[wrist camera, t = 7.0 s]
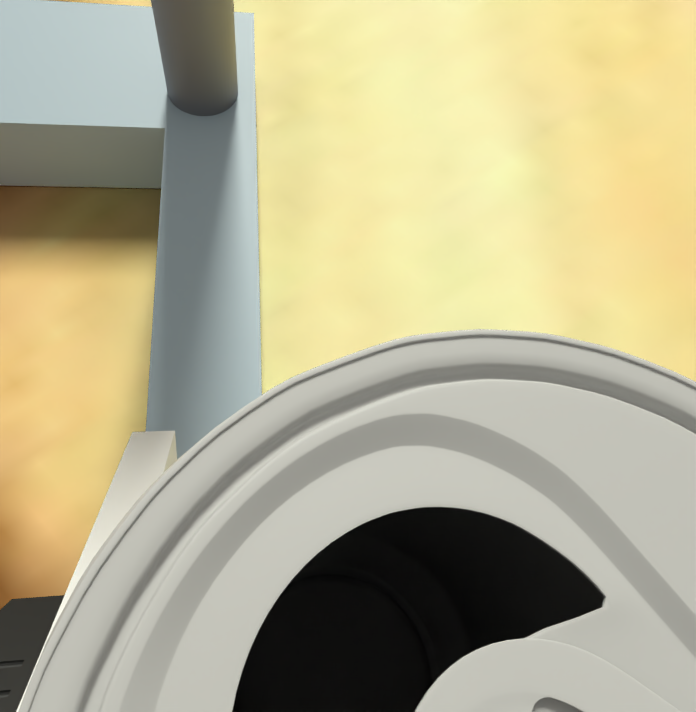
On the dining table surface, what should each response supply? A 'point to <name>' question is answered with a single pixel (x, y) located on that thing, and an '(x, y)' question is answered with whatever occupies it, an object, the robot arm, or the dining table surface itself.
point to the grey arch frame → (154, 171)
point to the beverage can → (407, 545)
